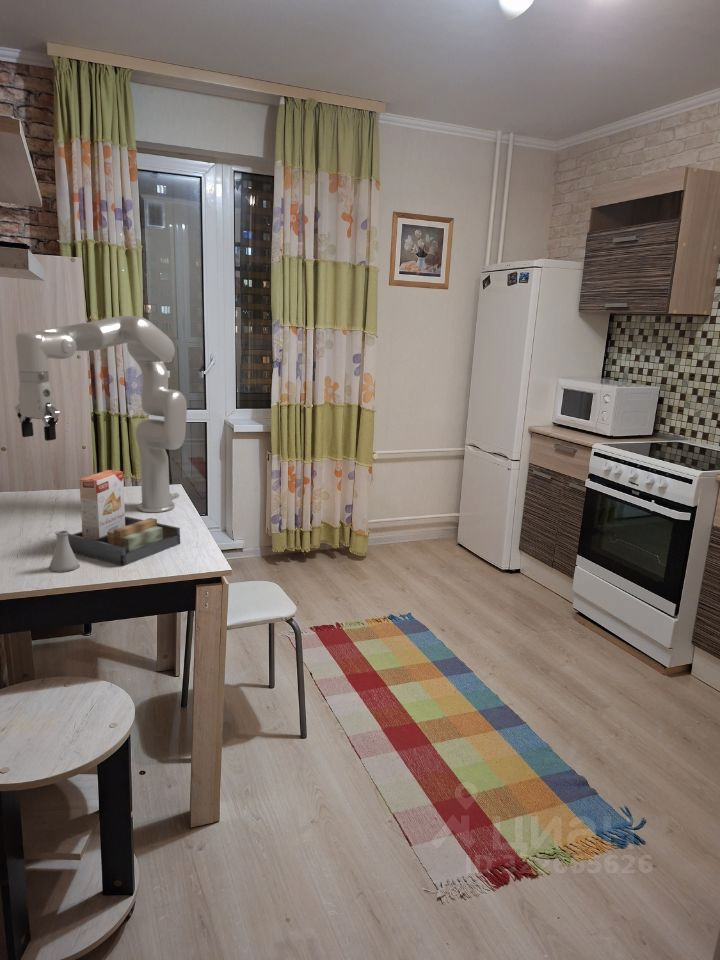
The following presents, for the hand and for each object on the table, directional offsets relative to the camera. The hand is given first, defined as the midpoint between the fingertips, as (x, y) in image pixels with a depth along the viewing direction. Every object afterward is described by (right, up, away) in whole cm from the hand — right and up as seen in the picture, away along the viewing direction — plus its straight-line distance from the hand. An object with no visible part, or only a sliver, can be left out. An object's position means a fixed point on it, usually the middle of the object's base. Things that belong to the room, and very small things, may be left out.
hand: (39, 438), depth 187 cm
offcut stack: (+27, -32, +3) cm, 42 cm away
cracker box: (+16, -31, +8) cm, 36 cm away
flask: (+13, -36, -12) cm, 40 cm away
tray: (+21, -31, +6) cm, 38 cm away
